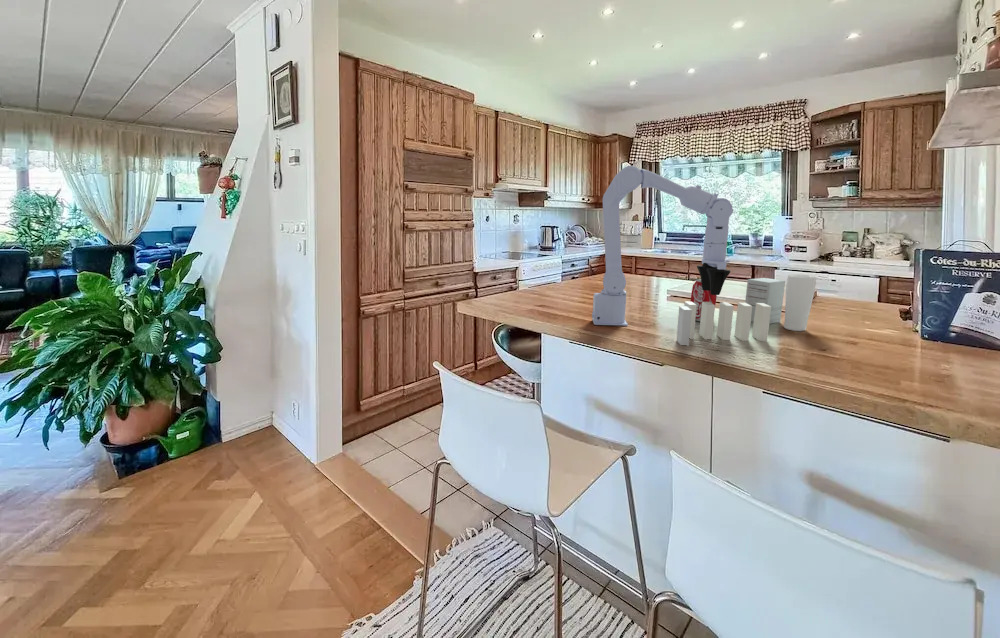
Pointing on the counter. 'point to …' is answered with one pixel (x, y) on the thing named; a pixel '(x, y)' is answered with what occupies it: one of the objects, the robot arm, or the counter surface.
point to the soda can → (701, 297)
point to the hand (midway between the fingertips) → (710, 292)
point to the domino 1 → (684, 325)
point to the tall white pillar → (798, 301)
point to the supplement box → (766, 296)
